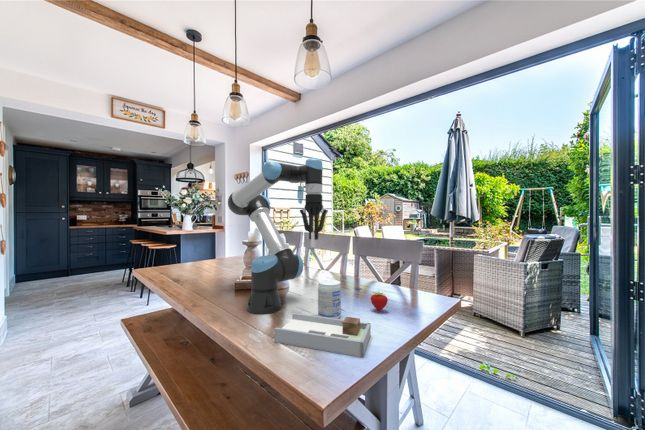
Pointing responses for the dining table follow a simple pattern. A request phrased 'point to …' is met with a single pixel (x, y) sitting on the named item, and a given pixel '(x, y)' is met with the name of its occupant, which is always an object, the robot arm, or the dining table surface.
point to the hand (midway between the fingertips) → (313, 246)
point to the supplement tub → (329, 299)
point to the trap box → (323, 335)
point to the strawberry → (379, 301)
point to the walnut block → (351, 326)
